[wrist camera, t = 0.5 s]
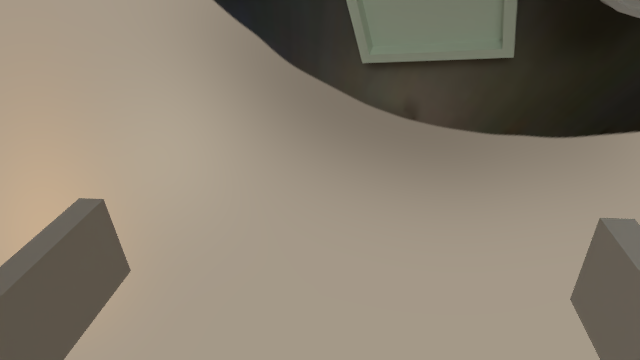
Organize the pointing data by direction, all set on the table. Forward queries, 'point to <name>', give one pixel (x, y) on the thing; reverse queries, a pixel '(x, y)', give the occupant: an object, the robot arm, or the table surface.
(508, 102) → the table surface
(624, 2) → the disposable coffee cup
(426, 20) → the tray
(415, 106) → the table surface
